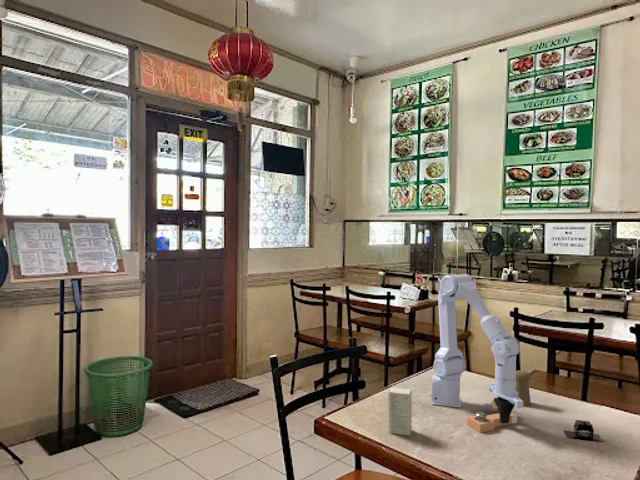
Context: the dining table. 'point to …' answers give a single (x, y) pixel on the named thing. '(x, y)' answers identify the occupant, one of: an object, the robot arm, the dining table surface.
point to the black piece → (584, 436)
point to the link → (489, 422)
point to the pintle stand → (485, 411)
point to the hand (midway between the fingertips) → (504, 422)
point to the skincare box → (400, 411)
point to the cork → (523, 387)
